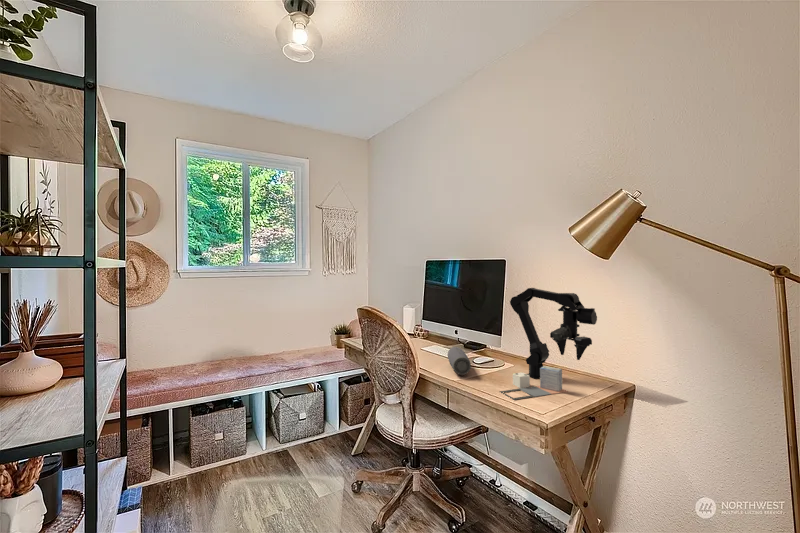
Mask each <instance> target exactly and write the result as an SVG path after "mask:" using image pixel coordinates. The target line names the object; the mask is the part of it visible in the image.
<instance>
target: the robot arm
mask: <svg viewBox="0 0 800 533" xmlns="http://www.w3.org/2000/svg"><path fill="white" fill-rule="evenodd" d="M533 298H537V299H542V300H547V301H551V302H554V303H557V304H558V305H560V306H561V307H560V308H558V309H557V311H559V312H562V323H561V324H560V327H559V328H556V329H555V330H551V332H550V333H549V335H550V336H549V337H550V338H551V339H552V341H554V342H555V343H556V344H557V347H558V351H559V353H560V355H561V356H564V355H565V350H566V347H567V346H566V345H567V340H569V341H573V342H574V344H573V346H574V347H575V348H576V350H575V351H576V352H575V353H576V360H577V361H580V359H581V358H582V356H583V355H584V353H585V350H586V349H587V347H590V346H591V345H592V344H593V339H592V338H591V337H587V336H585V335H583V336H580V333H578V328H580V324H585V325H593V326H595V325H596V324H597V321H598V316H597V312H596V308H593V307H590V308H589V307H588V308H587V307H585V306H584V305H583V303H582V301H581V300H580V297H579V295H578V294H577V293H574V292H555V291H551V290H550V291H549V290H544V289H540V288H539V289H538V288H535V287H527V289H525V290H524V291H522V292H521V293H519V294H517V295H516V296H512V297H511V299H510V301H509V304H510V306H511V308H512V309H513V311H514V313H516V315H518V317H519V320H520V322H521V325H522V327H523V330H524V332H525V335H526V337H527V340H528V342H529V354H530V355H529V356H528V357H527V358H526V359H525V363H526V364H527V365H528V373H526V374H527V375H530V377H531V378H532V379H540V368H541V367H543V366H544V364H545V363H546V361H547V360H548V358H549V356H550V350H549V349H548V345H547V343H546V342H544V343H543V342H542V341H541V340H540V338H539V335H538V333H537V330H536V328H535V325H534V322H533V320H532V318H531V316H530V313H529V309H530V304H529V302H530V301H532V300H533ZM578 323H579V324H578Z"/></svg>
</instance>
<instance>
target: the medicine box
mask: <svg viewBox="0 0 800 533" xmlns="http://www.w3.org/2000/svg"><path fill="white" fill-rule="evenodd" d="M539 382H540V383H539V386H540V388H544V389H549V390H554V391H558V392H559V391H560V390H561V389H563V369H562V368H558V367H554V366H553V367H551V366H547V365H543V367H541V368H540V378H539Z"/></svg>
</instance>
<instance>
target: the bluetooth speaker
mask: <svg viewBox="0 0 800 533" xmlns="http://www.w3.org/2000/svg"><path fill="white" fill-rule="evenodd" d="M447 359H448V362H449V365H450V366H451V368H452V370H453V371H454V372H455V373H456V374H458V375H461V376H462V375H467V374H468V373H469V372H470V370H471V368H472V367H471V366H472V364H471V361H470V358H469V356H467V354H466V352H465V351H464V350H463V349H462V348H460V347H458V346H452V347H451V348H449V349H448V352H447Z"/></svg>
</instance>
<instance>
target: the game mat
mask: <svg viewBox="0 0 800 533" xmlns="http://www.w3.org/2000/svg"><path fill="white" fill-rule="evenodd" d="M511 391H514V392H521V391H522V392H523V393H525V394H527V395H523V396H517V397H512V396H510V395H509V394H507V393H512V392H511ZM500 392H501V393H500ZM503 392H507V393H503ZM568 392H569V391H568V390H566V389H564V388H562V389H561V390H560V391H559V392H558V391H554V390H549V389H544V388H540V385H535V386H530V387H525V388H519V387H518V388H513V389H506V390H499V393H500V394H502V393H503V394H502V395H504V394H505V395H504V396H506V397H508V398H509V397H510V398H509V399H511V398H512V399H511V400H514V401H518V400H525V399H531V398H537V397H545V396H550V395H556V394H563V393H564V394H565V393H568Z"/></svg>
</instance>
